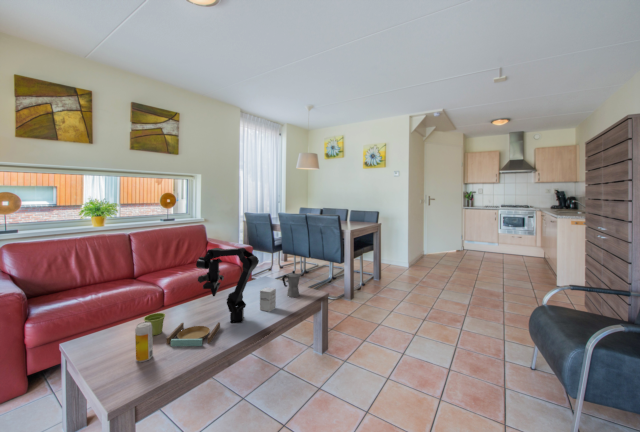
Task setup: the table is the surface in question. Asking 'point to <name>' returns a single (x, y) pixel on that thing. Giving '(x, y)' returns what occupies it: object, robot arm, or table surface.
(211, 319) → the table surface
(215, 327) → the lane walls
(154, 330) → the plant pot
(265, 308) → the supplement box
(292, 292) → the coffeepot
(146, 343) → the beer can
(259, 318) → the table surface
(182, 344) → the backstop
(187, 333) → the plant saucer
